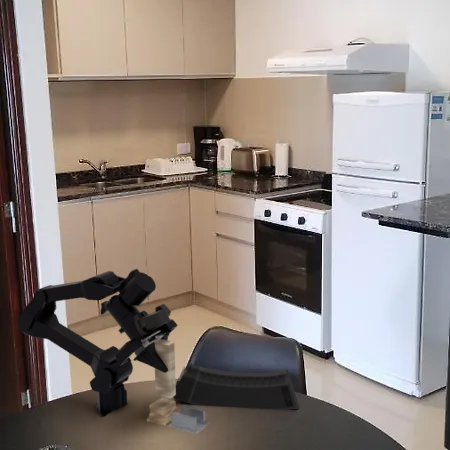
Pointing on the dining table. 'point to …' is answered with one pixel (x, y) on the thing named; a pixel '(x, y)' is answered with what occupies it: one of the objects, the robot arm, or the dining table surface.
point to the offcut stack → (162, 411)
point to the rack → (189, 419)
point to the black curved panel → (236, 389)
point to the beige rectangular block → (167, 380)
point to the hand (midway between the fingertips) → (170, 369)
